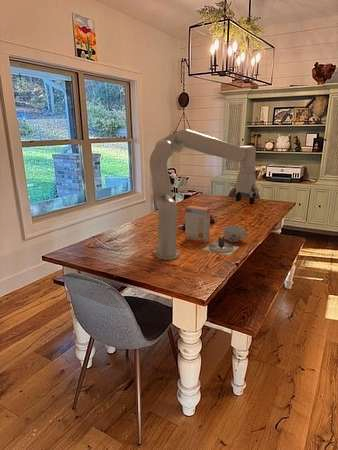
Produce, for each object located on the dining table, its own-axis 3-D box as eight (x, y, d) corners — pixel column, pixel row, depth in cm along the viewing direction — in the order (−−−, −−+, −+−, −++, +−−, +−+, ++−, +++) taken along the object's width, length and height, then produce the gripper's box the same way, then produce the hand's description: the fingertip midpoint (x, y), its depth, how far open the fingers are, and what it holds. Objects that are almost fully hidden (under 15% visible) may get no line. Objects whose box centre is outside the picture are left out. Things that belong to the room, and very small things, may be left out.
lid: (204, 249, 178) (204, 239, 176) (215, 242, 189) (215, 232, 187) (227, 254, 170) (228, 243, 168) (237, 246, 181) (238, 236, 180)
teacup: (219, 242, 189) (220, 229, 187) (226, 236, 200) (226, 224, 198) (244, 246, 183) (245, 233, 180) (249, 240, 193) (250, 227, 191)
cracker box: (209, 241, 191) (211, 207, 185) (204, 244, 187) (205, 209, 181) (190, 237, 199) (190, 204, 193) (184, 239, 195) (185, 206, 188)
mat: (202, 249, 178) (202, 249, 178) (213, 242, 190) (213, 241, 190) (229, 255, 169) (229, 255, 169) (239, 247, 181) (239, 246, 181)
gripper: (229, 169, 168) (228, 200, 173) (254, 172, 155) (252, 206, 160) (240, 168, 172) (238, 199, 177) (265, 171, 158) (262, 204, 163)
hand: (244, 202), depth 168 cm, fingers open, 9 cm apart
